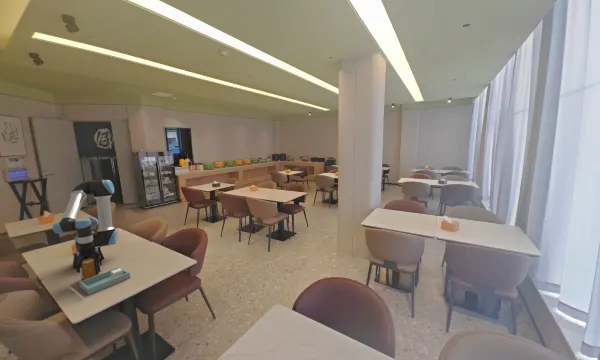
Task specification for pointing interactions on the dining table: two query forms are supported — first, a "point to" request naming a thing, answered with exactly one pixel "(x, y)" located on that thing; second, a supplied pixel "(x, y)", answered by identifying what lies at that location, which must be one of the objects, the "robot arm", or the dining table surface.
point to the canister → (90, 266)
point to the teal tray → (102, 281)
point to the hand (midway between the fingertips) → (90, 273)
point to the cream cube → (116, 273)
